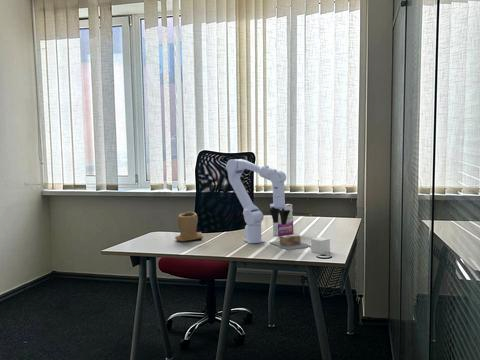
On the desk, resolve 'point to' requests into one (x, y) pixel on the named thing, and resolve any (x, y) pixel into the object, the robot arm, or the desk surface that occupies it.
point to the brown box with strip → (289, 240)
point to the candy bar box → (284, 229)
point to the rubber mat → (290, 247)
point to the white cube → (320, 245)
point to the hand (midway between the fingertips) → (279, 223)
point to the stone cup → (188, 227)
